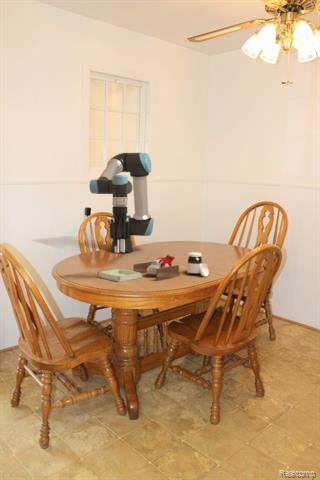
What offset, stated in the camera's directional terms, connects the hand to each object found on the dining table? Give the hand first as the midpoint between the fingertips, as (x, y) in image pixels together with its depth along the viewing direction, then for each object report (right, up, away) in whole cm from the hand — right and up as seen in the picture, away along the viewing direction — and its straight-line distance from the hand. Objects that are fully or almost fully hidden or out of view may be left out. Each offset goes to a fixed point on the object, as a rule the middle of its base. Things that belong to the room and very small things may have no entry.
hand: (119, 252), depth 212 cm
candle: (+17, -13, +6) cm, 23 cm away
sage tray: (0, -13, +2) cm, 13 cm away
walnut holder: (+19, -13, +7) cm, 24 cm away
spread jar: (+41, -13, +11) cm, 44 cm away
